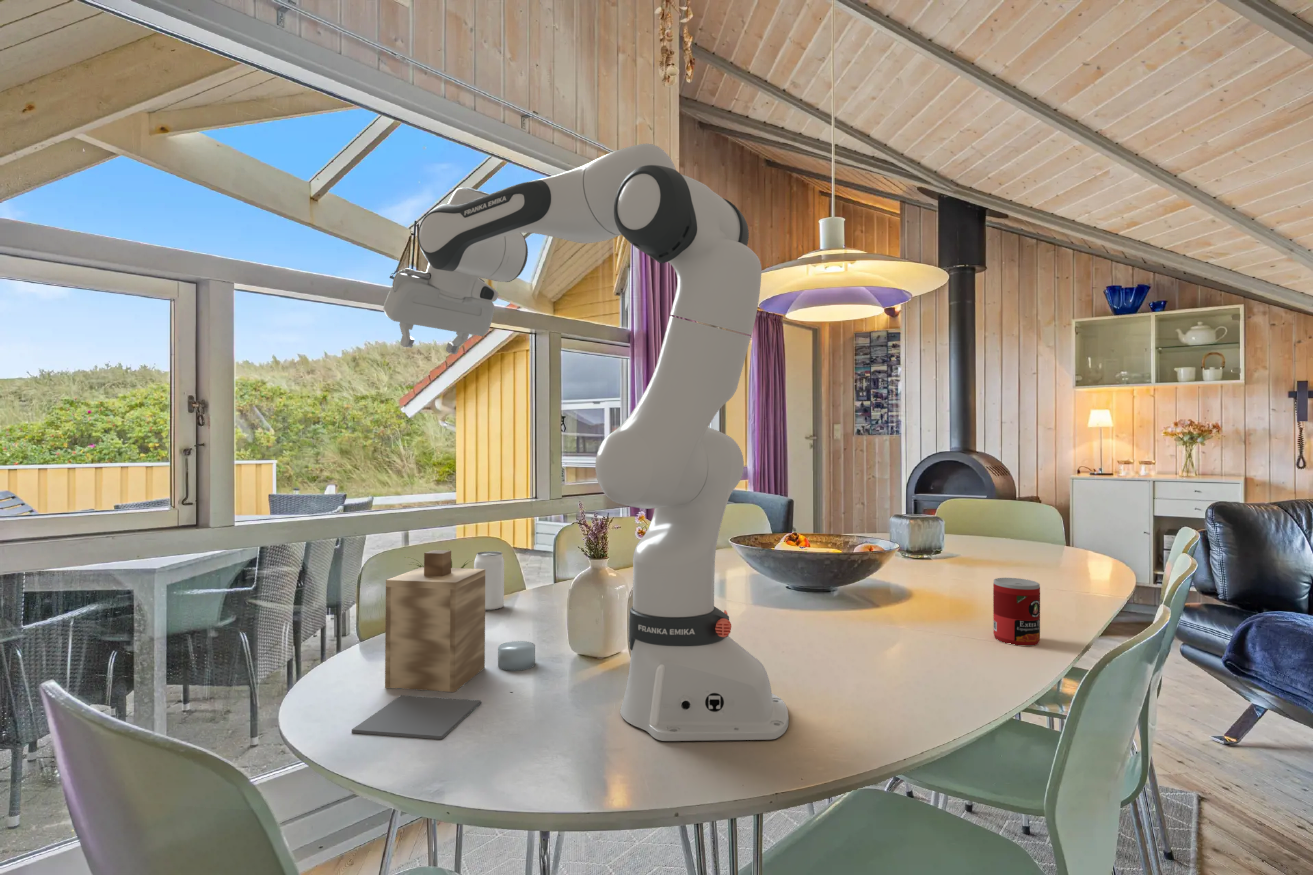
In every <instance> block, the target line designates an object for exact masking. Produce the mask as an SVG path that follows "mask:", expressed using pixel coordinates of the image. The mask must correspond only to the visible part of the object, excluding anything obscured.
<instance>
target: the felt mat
mask: <svg viewBox="0 0 1313 875" xmlns="http://www.w3.org/2000/svg"><path fill="white" fill-rule="evenodd" d="M481 703H482V700H479V699H465V698H449V697H434V696H420V695H419V696H417V695H402V694H401V695H399V696H398V697H397V698H395V699H394V700H392V701H391V702H389V703H388V704H386V705H385V706H383V707H381V708H380V709H379V710H377V711H376V712H375V713H374V714H372V715H371V716H369V717H367V718H366V719H365V720H363V721H362V722H360V723H358V725H356V726H355V727H353V728H352V729H351V733H352V734H362V735H363V734H364V735H375V736H376V735H377V736H389V737H390V736H393V737H403V738H405V737H406V738H419V739H432V740H443V739H444V738H445V737H446V736H447V735H448V734H449V733H450V732H451V731H452V730H453V729H455V728H456V727H457V726H458V725H459V724H460V723H461V722H462V721H464V719H465V718H467V717H468V716H469V715H470V714H471V713H472V712H473V711H474V710H475V709H476V708H477V707H479V706H480V705H481ZM479 704H480V705H479Z"/></svg>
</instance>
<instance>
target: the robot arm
mask: <svg viewBox="0 0 1313 875" xmlns="http://www.w3.org/2000/svg"><path fill="white" fill-rule="evenodd" d="M525 233H526V234H527V233H528V234H536V235H542V236H547V237H552V238H557V239H561V240H564V241H569V242H572V243H573V242H574V243H576V244H577V243H578V244H595V243H601V242H605V241H609V240H612V239H615V238H618V237H619V236H623V238H624V239H625V240H627V242H628V243H630V244H631V245H632V246H634V247H635V248H636V249H637V250H639V251H640V252H642V253H644V254H646V255H647V256H648V257H650V258H651V259H653V260H654V261H655V262H657V263H659V264H665V263H668V264H670V266H672V268H673V269H674V272H675V274H676V278H677V279H676V281H677V284H676V291H675V296H674V300H673V302H672V306H671V309H670V313H669V317H668V322H667V326H666V329H665V333H664V337H663V340H662V344H661V348H660V351H659V354H658V359H657V362H656V366H655V368H654V371H653V374H652V376H651V379H650V380H649V383H648V385H647V387H646V389H645V390H644V392H643V394H642V396H641V398H639V401H638V402H637V404H636V406H635V407H634V408H633V409H632V412H630V414H629V415H628V417H627V418H626V419H625V420H624V421H623V423H622V424H620V425H619V426H618V427H617V428H616V429H615V430H613V431H612V432H611V433H609V434H607V436H606V437H605V438H604V439H603V440H602V442H601V444H600V445H599V447H598V450H597V453H596V458H595V475H596V480H597V483H598V485H599V487H600V489H601V491H602V493H603V494H604V495H605V496H606V497H607V498H608V500H609V499H610V500H611V501H612V502H614V503H616V504H620V505H623V506H628V507H632V508H637V509H643V510H644V509H645V510H647V509H648V510H651V509H654V510H653V514H652V518H651V521H650V523H649V526H648V529H647V530H646V532H645V534H644V535H643V536H642V538H641V539H640V540H639V541H638V543H637V544H636V546H635V548H634V552H633V555H632V559H633V560H632V606H631V607H630V609H629V615H628V642H629V650H630V659H629V660H630V661H629V669H628V676H627V682H626V688H625V692H624V696H623V699H622V702H621V706H620V711H619V712H620V716H621V717H622V718H623V719H624V720H625V722H627V723H628V724H631V726H634V727H636V728H638V729H641V730H644V731H646V732H647V733H649V735H650V736H651V737H653V738H654V739H656V740H658V741H662V742H681V741H684V742H685V741H690V742H691V741H695V742H696V741H746V740H747V741H749V740H750V741H752V740H753V741H756V740H757V741H758V740H761V741H762V740H763V741H764V740H766V741H767V740H775V739H778V738H780V737H781V736H783V735H784V734H785V733H786V731H787V730H788V727H789V720H790V719H789V710H788V707H787V705H786V702H784V700H783V699H781V697H779V696H778V695H776V694H775V693H773V692H772V688H771V682H770V678H769V675H768V673H767V669H766V668H765V666H764V664H763V663H762V662H761V661H760V660H759V659H758V658H757V657H755V656H754V655H753V654H751V652H749V651H747V649H745V648H744V647H742V646H741V645H740V644H739V643H738V642H736V641H735V640H734V639H733V638H731V637H730V634H731V633H732V632H731V631H732V623H731V622H730V616H729V615H728V612H727V610H725V609H724V611H723V610H721V609H719V608H718V607H716V606H715V570H716V569H715V566H716V551H717V545H718V541H719V540H718V539H719V533H720V530H721V527H722V526H721V525H722V522H723V518H724V515H725V511H726V509H727V505H728V502H729V499H730V497H731V495H732V493H733V491H734V490H735V488H736V487H737V486H738V485H739V483H740V481H741V479H742V477H743V473H744V466H745V465H744V463H745V462H744V454H743V452H742V450H741V448H740V446H739V444H738V443H737V442H736V440H735V439H734V438H732V437H731V436H729V435H727V433H724V432H721V431H719V430H717V429H714V428H711V427H709V426H710V424H711V423H712V421H713V419H715V416H716V415H717V413H718V412H719V411H720V409H721V408H722V407H723V406H724V405H725V404H726V403H728V402H729V401H730V400H731V399H732V397H733V396H734V395H735V393H736V392H737V389H738V387H739V382H740V379H741V376H742V372H743V368H744V364H745V361H746V357H747V353H748V350H749V345H750V342H751V338H752V335H753V330H754V328H755V322H756V318H757V312H758V308H759V302H760V293H761V285H762V284H761V283H762V270H763V269H762V263H761V261H760V260H761V259H760V258H759V257H758V255H757V254H756V252H754V251H753V250H752V249H751V248H750V247H749V246H748V244H749V238H750V237H749V234H750V232H749V226H748V223H747V220H746V219H745V217H744V215H743V213H742V212H741V211H740V210H739V209H738V207H737V206H736V205H735V204H733V203H732V201H729V200H728V199H726V198H723V197H722V196H721V195H719V194H718V193H717V192H715V191H713V190H712V189H711V188H710V187H709V186H708V185H706V184H705V183H703V182H701V181H699V180H697V179H695V178H692V177H690V176H687V175H685V174H682V173H680V172H679V171H677V168H676V166H675V164H674V162H673V161H672V159H671V157H670V155H669V154H668V153H667V152H666V151H665V150H664V149H663V148H661V147H659V146H658V145H655V144H653V143H640V144H636V145H631V146H627V147H625V148H620V149H618V150H614V151H612V152H609V153H607V154H605V155H601V156H600V157H597V158H596V159H594V160H591V161H590V162H587V163H585V164H583V165H581V166H579V167H575V168H573V169H570V170H567V171H565V172H562V173H558V174H556V175H552V176H548V177H543V178H540V179H539V178H538V179H534V180H530V181H526V182H521V183H517V184H513V185H510V186H508V187H505V188H502V189H500V190H497V191H493V192H492V193H489V192H485V191H482V190H478V189H475V188H471V187H465V186H463V187H459V188H456V189H455V190H454V192H453V193H452V195H451V197H450V199H449V200H448V203H442V204H440V205H438V206H436V207H434V208H433V209H431V210H430V211H429V212H428V213H427V214H426V215H425V216H424V217H423V219H422V221H421V222H420V225H419V228H418V232H417V242H418V246H419V248H420V250H421V253H422V255H423V256H424V258H425V259H426V261H427V262H428V263H427V268H426V271H425V272H424V271H421V270H420V271H419V270H414V269H412V268H408V267H407V268H404V269H401V270H399V271H398V272H396V273H395V275H394V277H393V281H392V285H391V287H390V290H389V292H388V294H387V297H386V299H385V301H384V303H383V304H384V305H383V310H382V311H383V312H384V314H385V316H386V317H387V318H388V319H390V320H392V321H393V322H397V323H399V328H400V332H401V338H400V345H401V346H402V348H411V349H412V348H413V346H414V343H415V338H414V337H412V336H411V332H410V331H411V330H413V328H414V326H415V325H416V326H420V327H426V328H432V329H439V330H442V331H443V330H444V331H447V332H448V331H450V332H455V333H456V334H455V335H457V336H456V337H455V338H454V339H453V340H452V341H451V342H450V341H448V342H447V344H446V347H445V351H446V352H447V353H448V354H449V355H450V354H451V355H457V354H458V352H459V349H460V347H461V346H462V345H463V344H464V343H465V342H466V341H467V340H468V338H469V336H470V335H472V336H479V337H483V336H485V335H486V334H488V333H489V330H490V328H491V324H492V321H493V319H494V314H495V304H494V302H496V301H497V300H498V297H499V292H498V291H497V289H495V288H493V286H490V285H489V284H488V283H487V282H485V281H484V280H489V281H490V280H491V281H494V282H498V283H499V282H500V283H511V282H512V281H514V280H516V279H517V278H518V277H519V276H520V275H521V274H522V273H523V271H524V269H525V266H526V264H527V260H528V256H529V254H528V253H529V252H528V251H529V249H528V244H527V240H526V238H525V237H524V235H523V234H525ZM483 279H484V280H483ZM698 322H699V323H698ZM749 335H750V336H749Z"/></svg>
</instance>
